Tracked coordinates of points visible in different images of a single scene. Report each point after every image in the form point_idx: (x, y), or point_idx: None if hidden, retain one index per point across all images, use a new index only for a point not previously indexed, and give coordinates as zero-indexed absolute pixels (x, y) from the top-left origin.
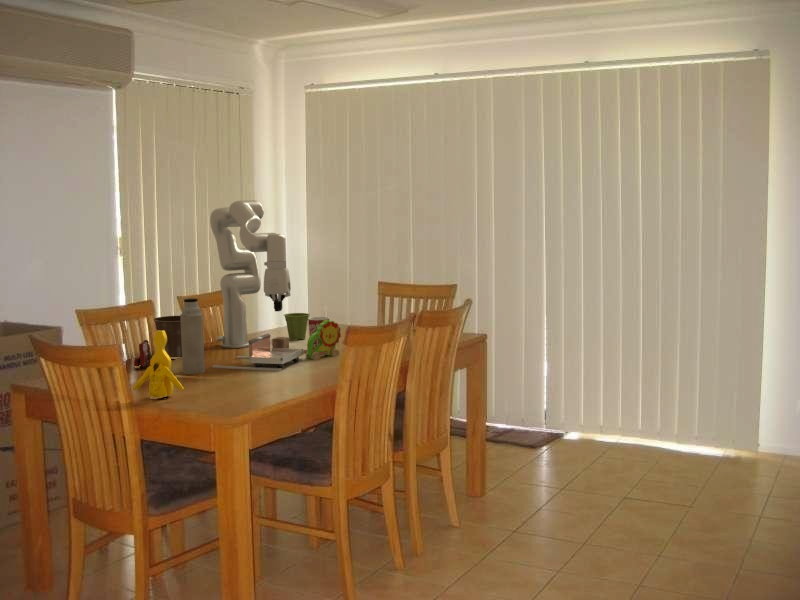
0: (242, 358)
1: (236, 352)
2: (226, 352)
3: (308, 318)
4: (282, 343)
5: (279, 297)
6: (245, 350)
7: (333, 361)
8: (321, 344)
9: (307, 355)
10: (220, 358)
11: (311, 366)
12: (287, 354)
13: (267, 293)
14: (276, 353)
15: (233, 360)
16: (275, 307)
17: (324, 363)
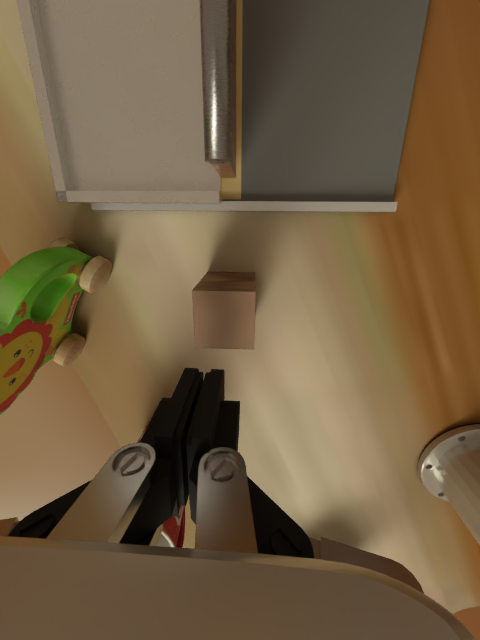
0: (365, 201)
1: (436, 361)
2: (476, 356)
3: (169, 543)
4: (203, 285)
5: (103, 497)
6: (412, 399)
7: (11, 260)
8: (33, 308)
9: (95, 257)
10: (474, 233)
11: (23, 135)
12: (90, 96)
13: (340, 564)
14: (160, 115)
15: (404, 200)
16: (208, 388)
17: (16, 214)
